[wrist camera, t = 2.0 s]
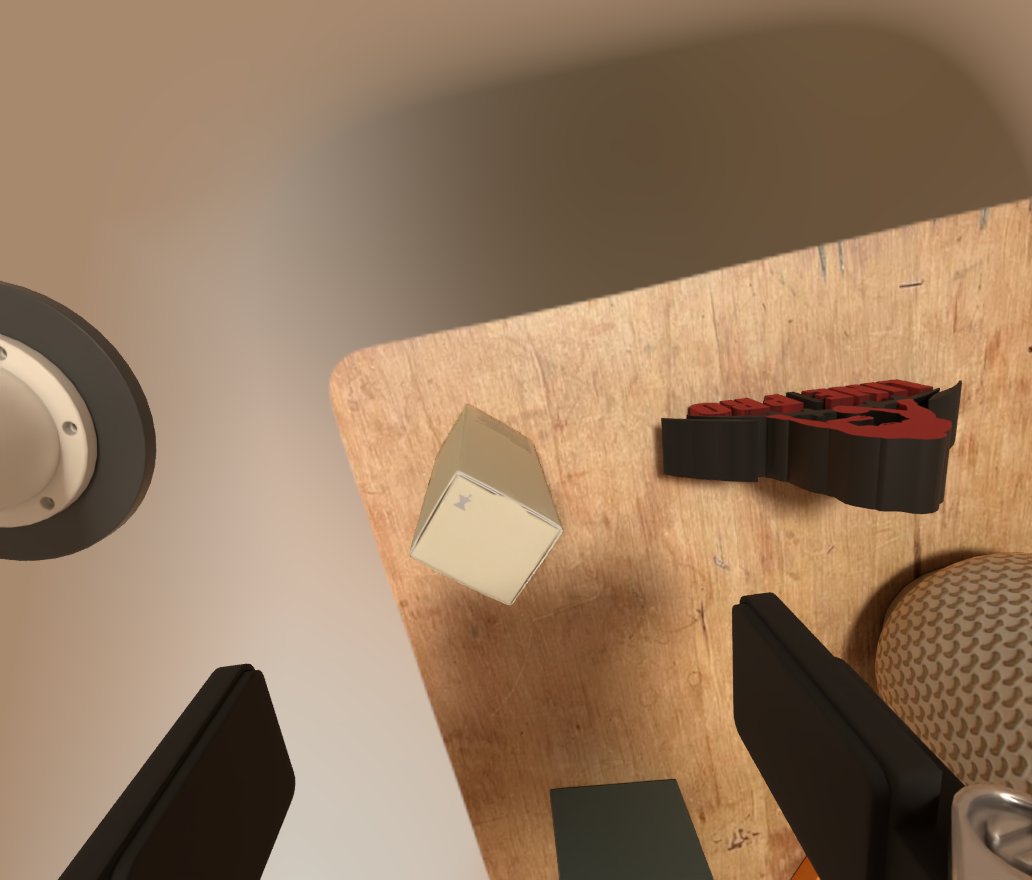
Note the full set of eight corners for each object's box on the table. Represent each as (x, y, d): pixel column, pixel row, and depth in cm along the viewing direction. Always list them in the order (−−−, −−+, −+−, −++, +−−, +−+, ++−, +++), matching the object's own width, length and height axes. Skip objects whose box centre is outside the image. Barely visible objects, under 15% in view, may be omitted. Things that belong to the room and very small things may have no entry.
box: (433, 458, 33) (396, 555, 20) (468, 399, 32) (451, 465, 20) (504, 497, 34) (510, 613, 21) (540, 441, 33) (568, 529, 20)
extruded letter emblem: (930, 374, 33) (1143, 413, 22) (924, 427, 34) (1126, 488, 23) (649, 409, 33) (726, 465, 22) (651, 461, 34) (726, 538, 23)
